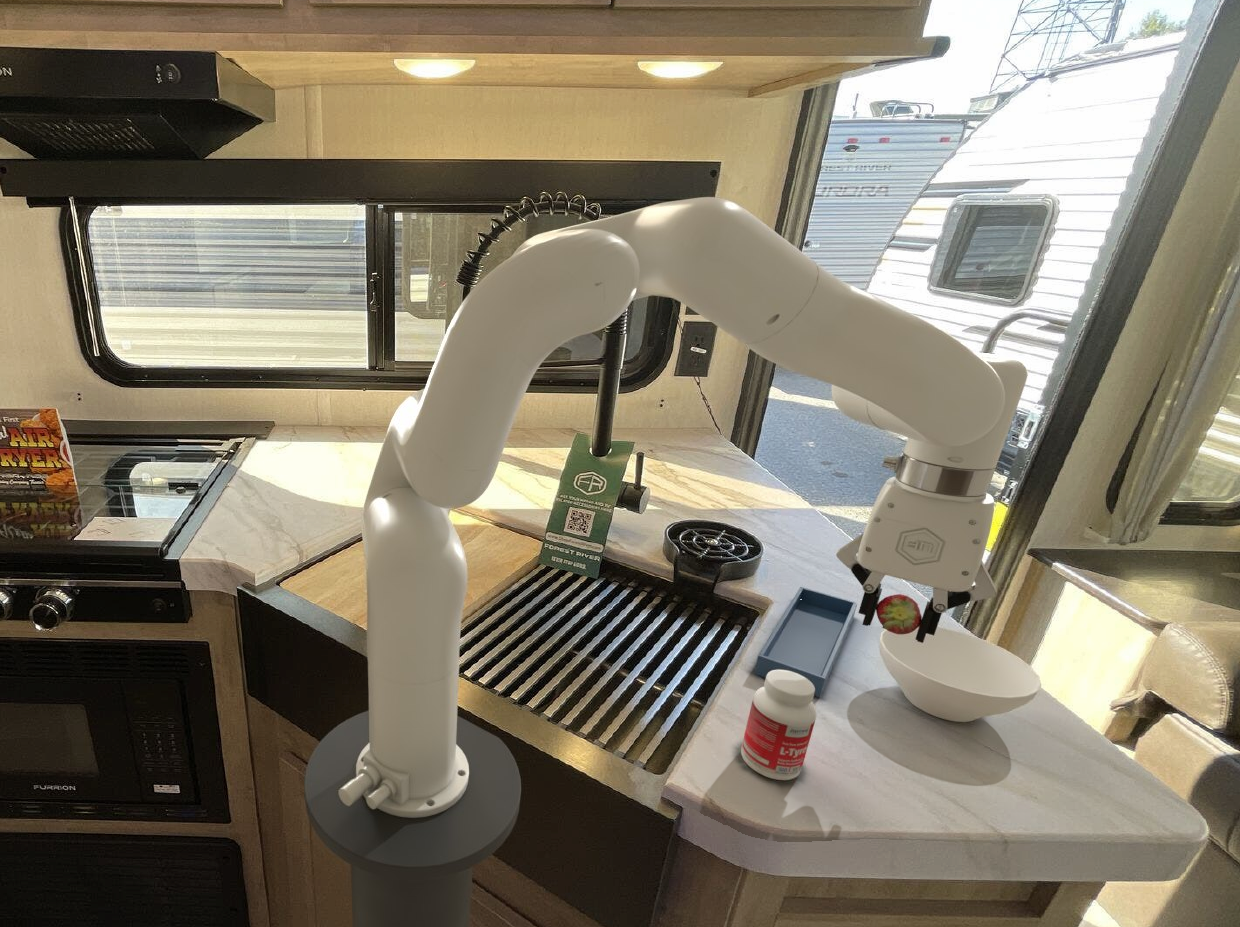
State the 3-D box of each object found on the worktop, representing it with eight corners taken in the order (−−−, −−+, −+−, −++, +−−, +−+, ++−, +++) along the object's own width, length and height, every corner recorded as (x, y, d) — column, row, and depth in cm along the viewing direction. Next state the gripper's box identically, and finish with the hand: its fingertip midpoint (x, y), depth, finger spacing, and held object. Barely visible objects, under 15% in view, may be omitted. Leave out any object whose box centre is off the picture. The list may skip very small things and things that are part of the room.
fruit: (918, 625, 75) (931, 587, 74) (914, 648, 71) (928, 608, 69) (873, 613, 78) (885, 575, 76) (867, 634, 74) (880, 595, 72)
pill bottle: (776, 789, 71) (798, 706, 67) (728, 753, 77) (746, 674, 73) (812, 771, 74) (836, 689, 70) (764, 737, 79) (783, 659, 75)
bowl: (988, 764, 75) (1008, 714, 72) (841, 689, 88) (855, 644, 85) (1043, 717, 83) (1063, 670, 80) (901, 654, 95) (915, 612, 93)
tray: (819, 697, 86) (825, 678, 85) (753, 673, 91) (758, 655, 90) (853, 619, 105) (857, 602, 103) (796, 602, 109) (800, 586, 108)
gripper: (841, 467, 70) (802, 615, 77) (1054, 506, 60) (988, 674, 67) (853, 452, 76) (816, 592, 82) (1052, 485, 65) (991, 643, 72)
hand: (894, 627), depth 74 cm, fingers closed on fruit, 4 cm apart
